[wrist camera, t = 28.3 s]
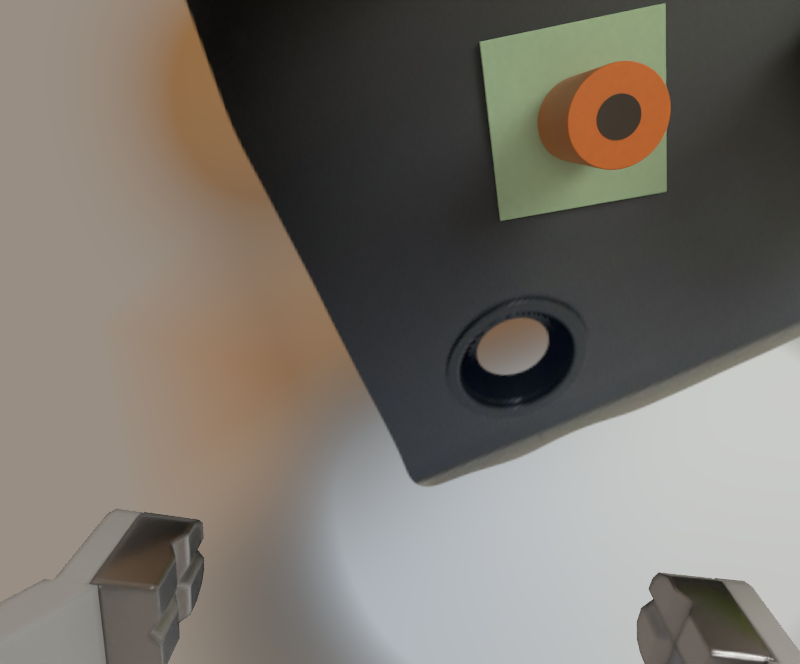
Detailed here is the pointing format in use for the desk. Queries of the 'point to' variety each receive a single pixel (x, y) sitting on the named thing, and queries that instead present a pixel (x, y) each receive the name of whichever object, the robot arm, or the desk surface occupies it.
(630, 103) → the orange cylinder piece
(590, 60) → the green mat
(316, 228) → the desk surface
